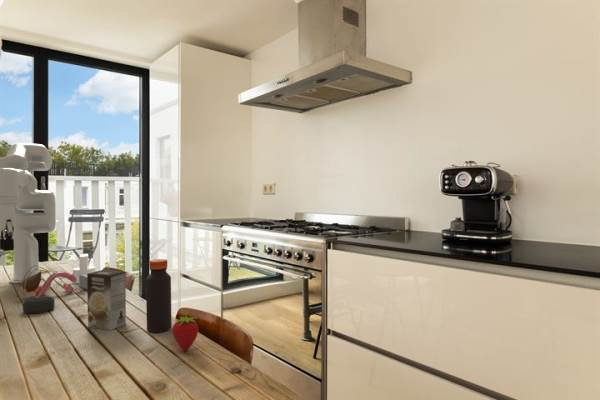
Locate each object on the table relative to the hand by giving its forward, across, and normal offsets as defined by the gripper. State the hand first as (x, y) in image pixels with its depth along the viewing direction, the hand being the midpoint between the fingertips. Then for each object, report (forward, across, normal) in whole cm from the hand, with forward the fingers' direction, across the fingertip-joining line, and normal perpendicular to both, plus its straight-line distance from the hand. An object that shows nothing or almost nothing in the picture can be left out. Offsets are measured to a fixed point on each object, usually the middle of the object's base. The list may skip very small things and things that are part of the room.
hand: (6, 249), depth 142 cm
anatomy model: (+20, 0, +13) cm, 24 cm away
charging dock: (+19, +2, +27) cm, 33 cm away
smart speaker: (+20, +23, +5) cm, 31 cm away
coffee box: (+20, +57, +15) cm, 62 cm away
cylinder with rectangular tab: (+20, -16, +31) cm, 40 cm away
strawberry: (+20, +92, +21) cm, 96 cm away
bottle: (+20, +72, +24) cm, 78 cm away
